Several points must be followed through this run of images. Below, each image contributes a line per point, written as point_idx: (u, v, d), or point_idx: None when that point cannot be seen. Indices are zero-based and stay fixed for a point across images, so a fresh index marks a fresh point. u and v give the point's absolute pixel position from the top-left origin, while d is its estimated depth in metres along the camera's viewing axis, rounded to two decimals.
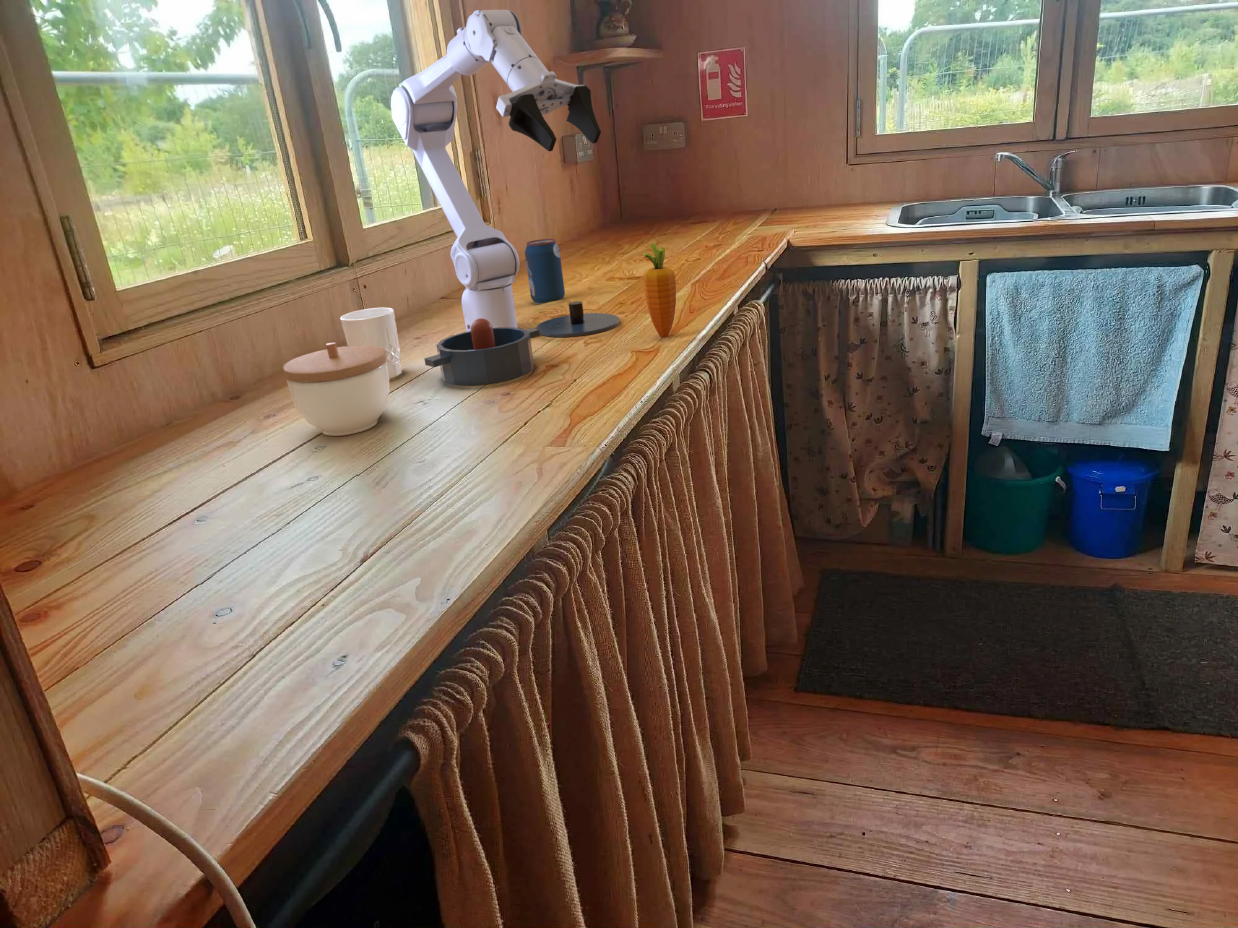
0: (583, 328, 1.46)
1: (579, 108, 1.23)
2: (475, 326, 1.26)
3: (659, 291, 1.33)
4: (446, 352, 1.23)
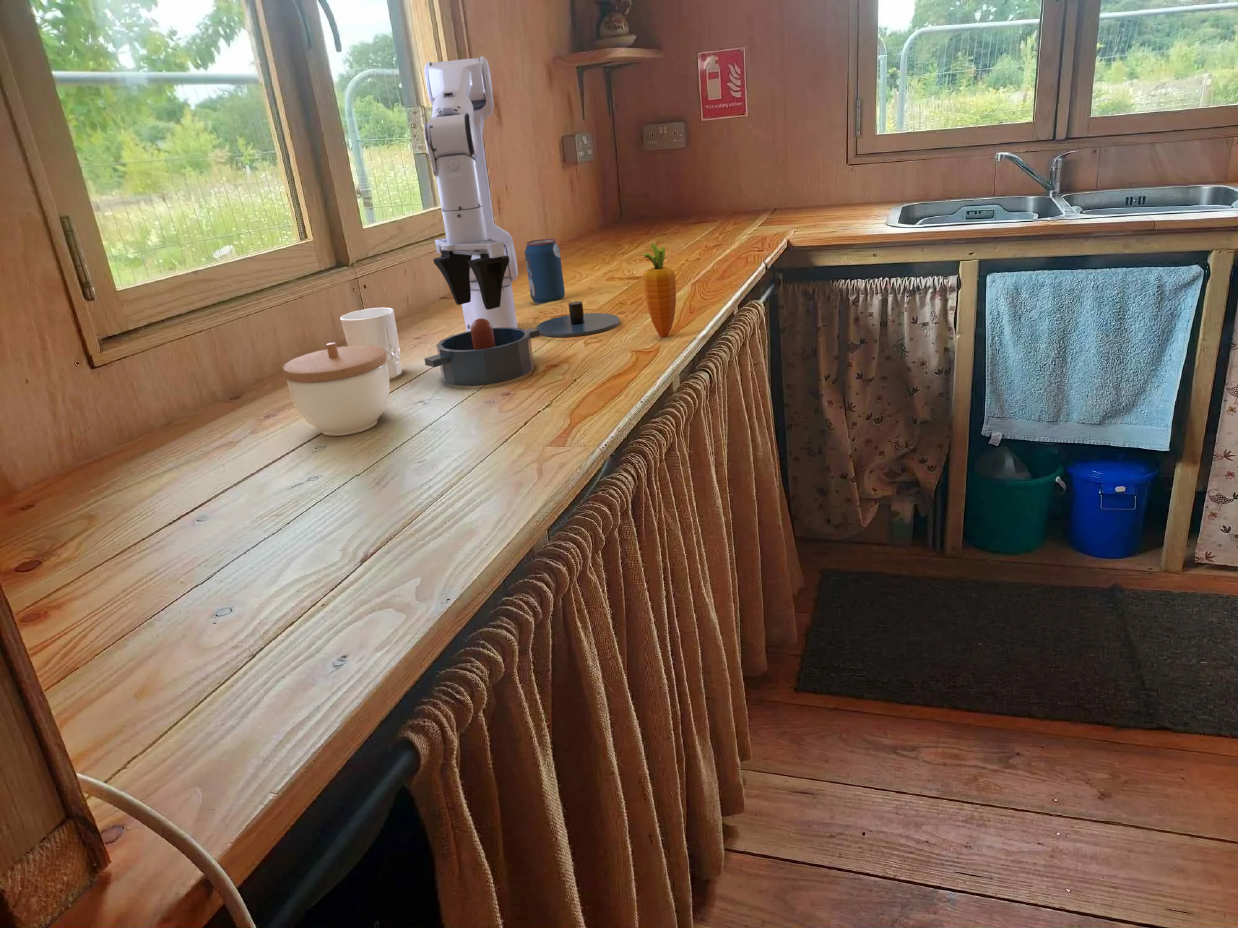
0: (583, 328, 1.46)
1: None
2: (475, 326, 1.26)
3: (659, 291, 1.33)
4: (446, 352, 1.23)
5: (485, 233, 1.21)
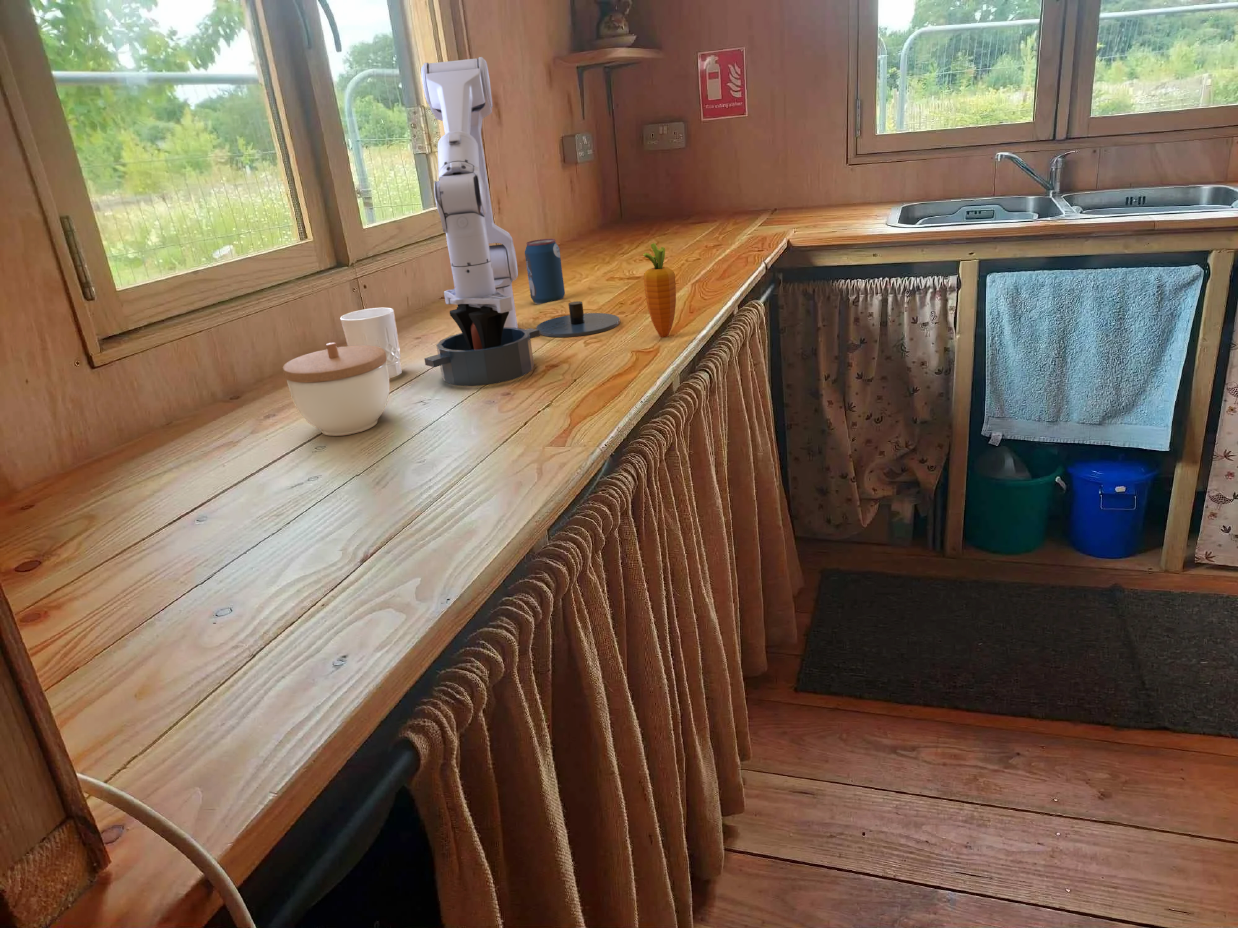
0: (583, 328, 1.46)
1: None
2: None
3: (659, 291, 1.33)
4: (446, 352, 1.23)
5: (493, 287, 1.24)
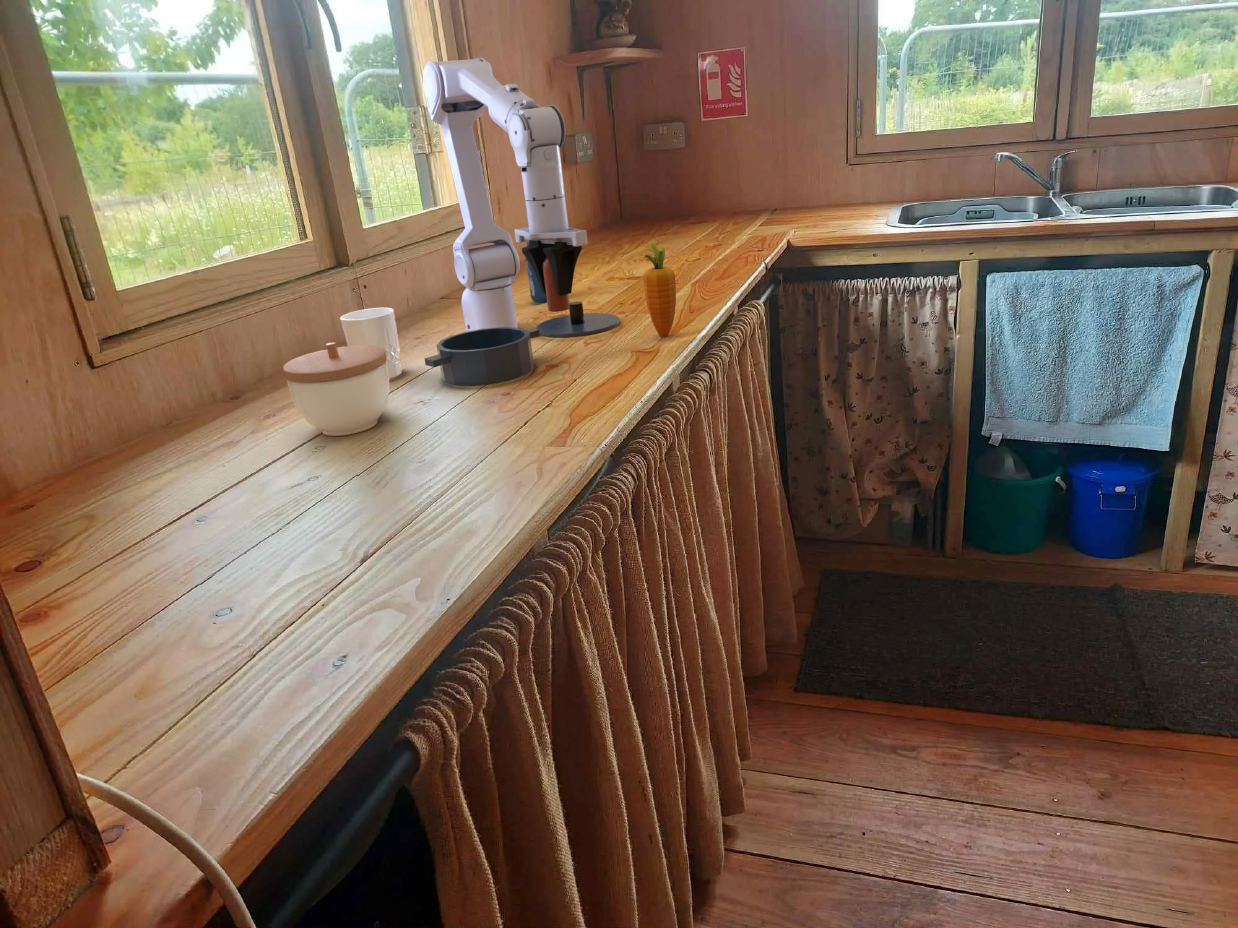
0: (583, 328, 1.46)
1: None
2: (547, 262, 1.26)
3: (659, 291, 1.33)
4: (446, 352, 1.23)
5: (567, 222, 1.25)
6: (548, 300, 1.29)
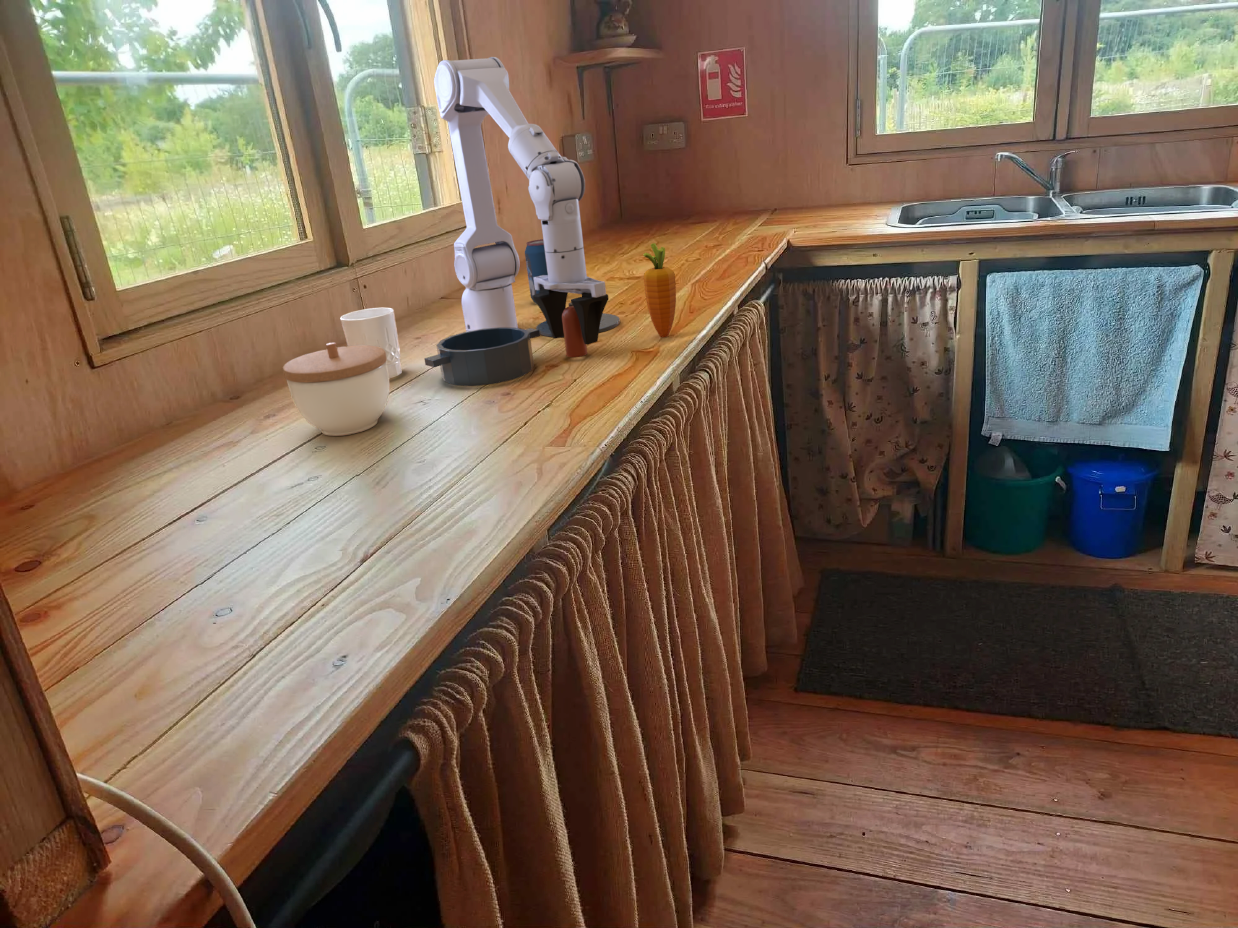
0: None
1: None
2: (566, 313, 1.30)
3: (659, 291, 1.33)
4: (446, 352, 1.23)
5: (585, 272, 1.28)
6: (567, 349, 1.32)
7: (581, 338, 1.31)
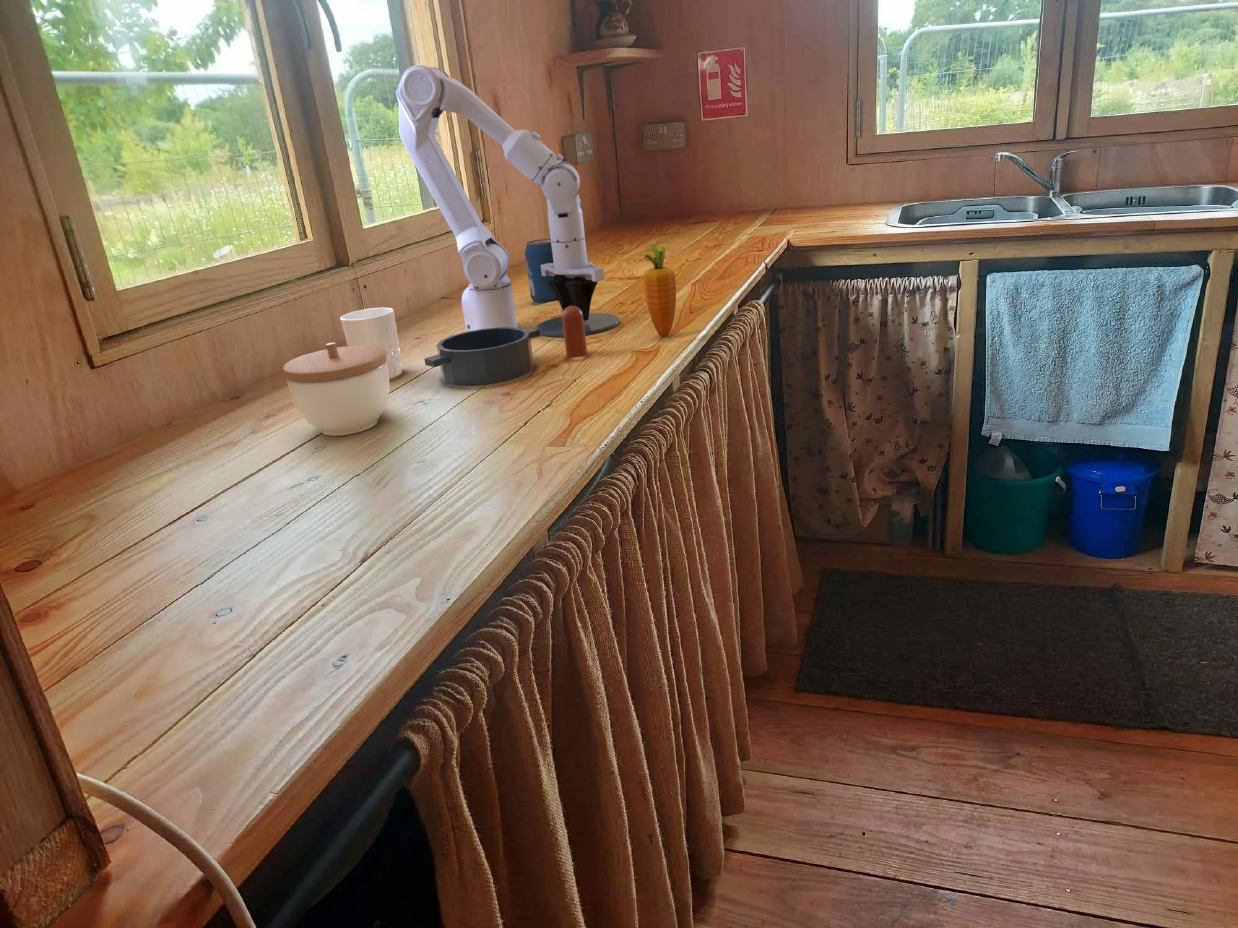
0: None
1: None
2: (566, 313, 1.30)
3: (659, 291, 1.33)
4: (446, 352, 1.23)
5: None
6: (567, 349, 1.32)
7: (581, 338, 1.31)
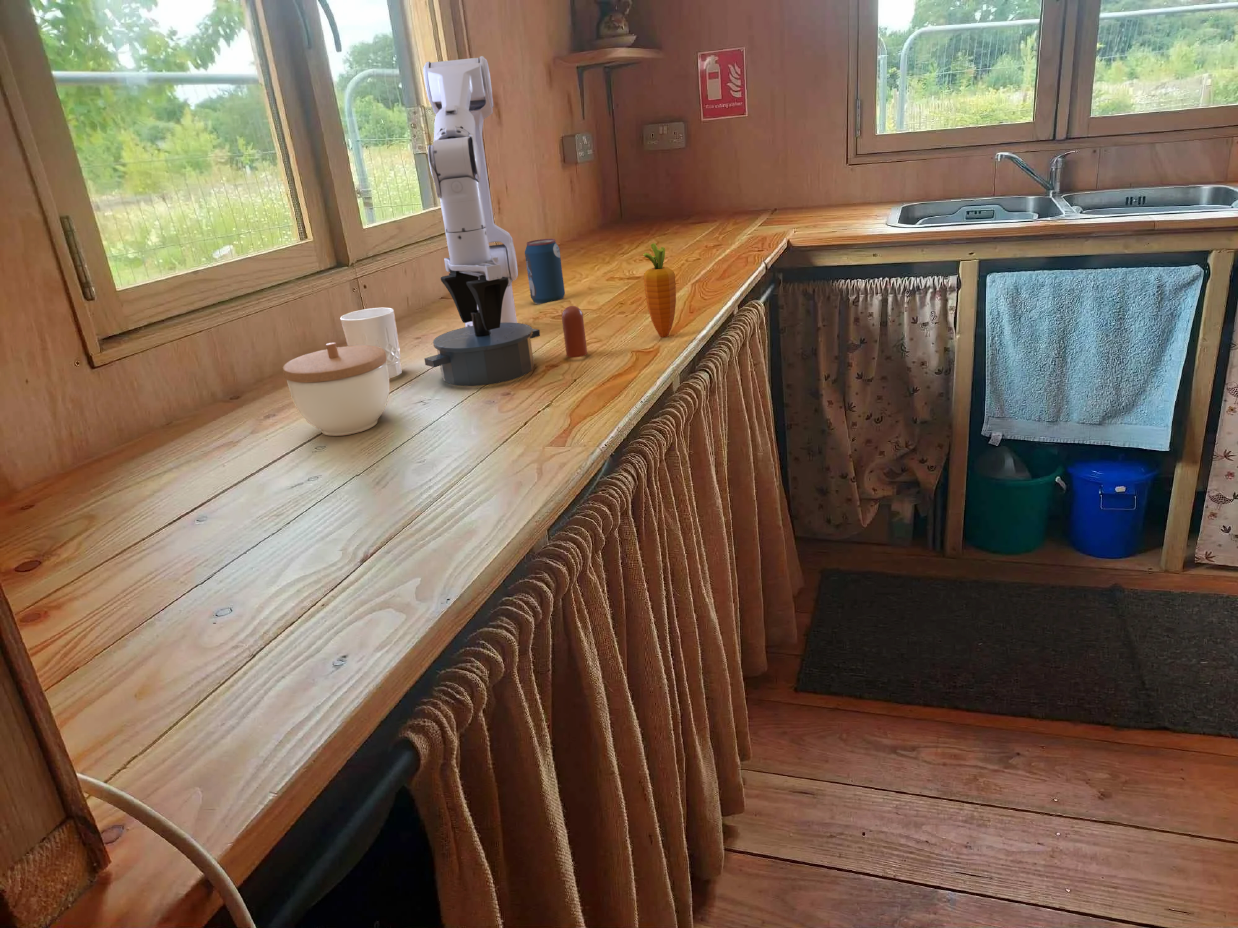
0: (481, 342, 1.23)
1: None
2: (566, 313, 1.30)
3: (659, 291, 1.33)
4: (446, 352, 1.23)
5: None
6: (567, 349, 1.32)
7: (581, 338, 1.31)
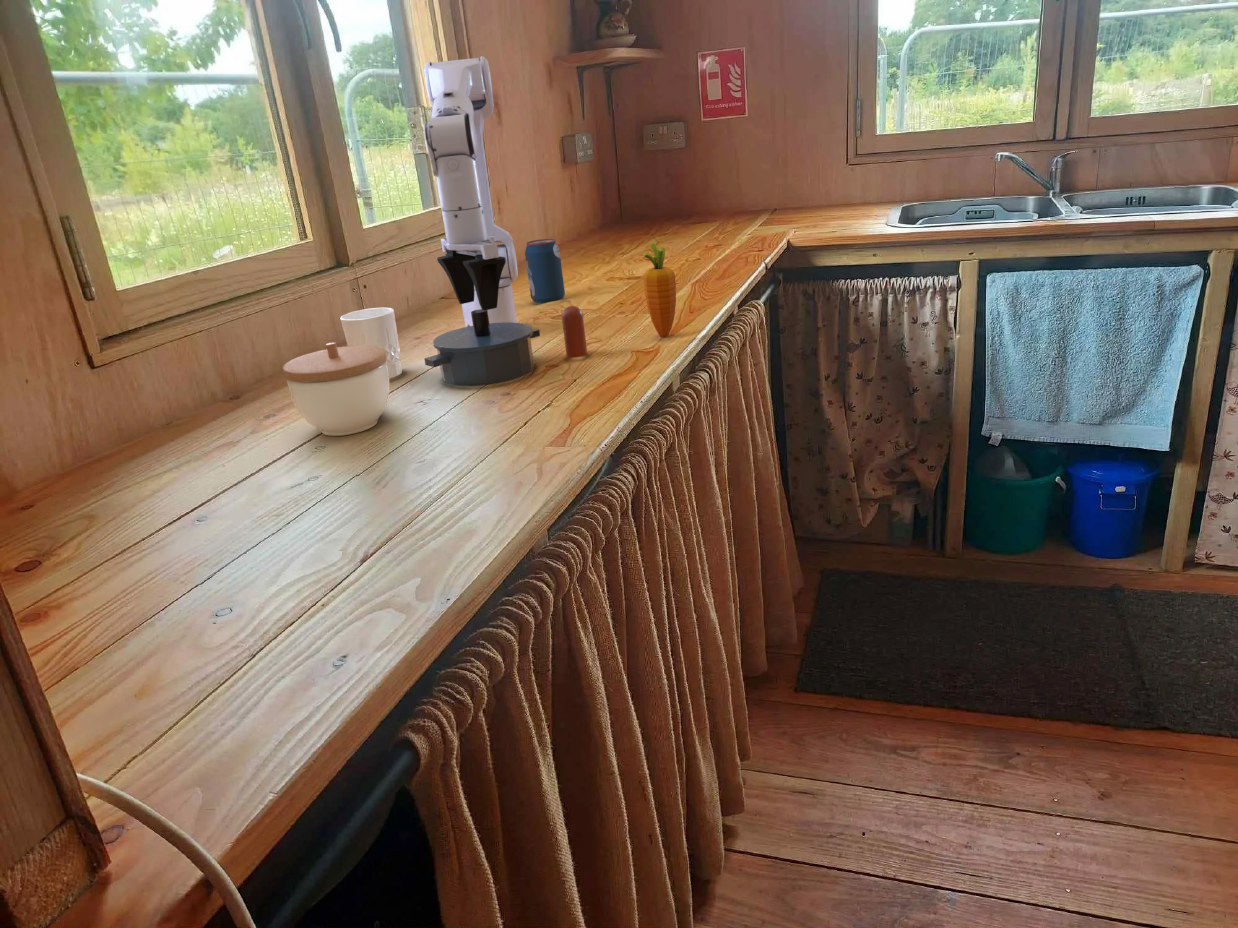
0: (481, 342, 1.23)
1: None
2: (566, 313, 1.30)
3: (659, 291, 1.33)
4: (446, 352, 1.23)
5: None
6: (567, 349, 1.32)
7: (581, 338, 1.31)
